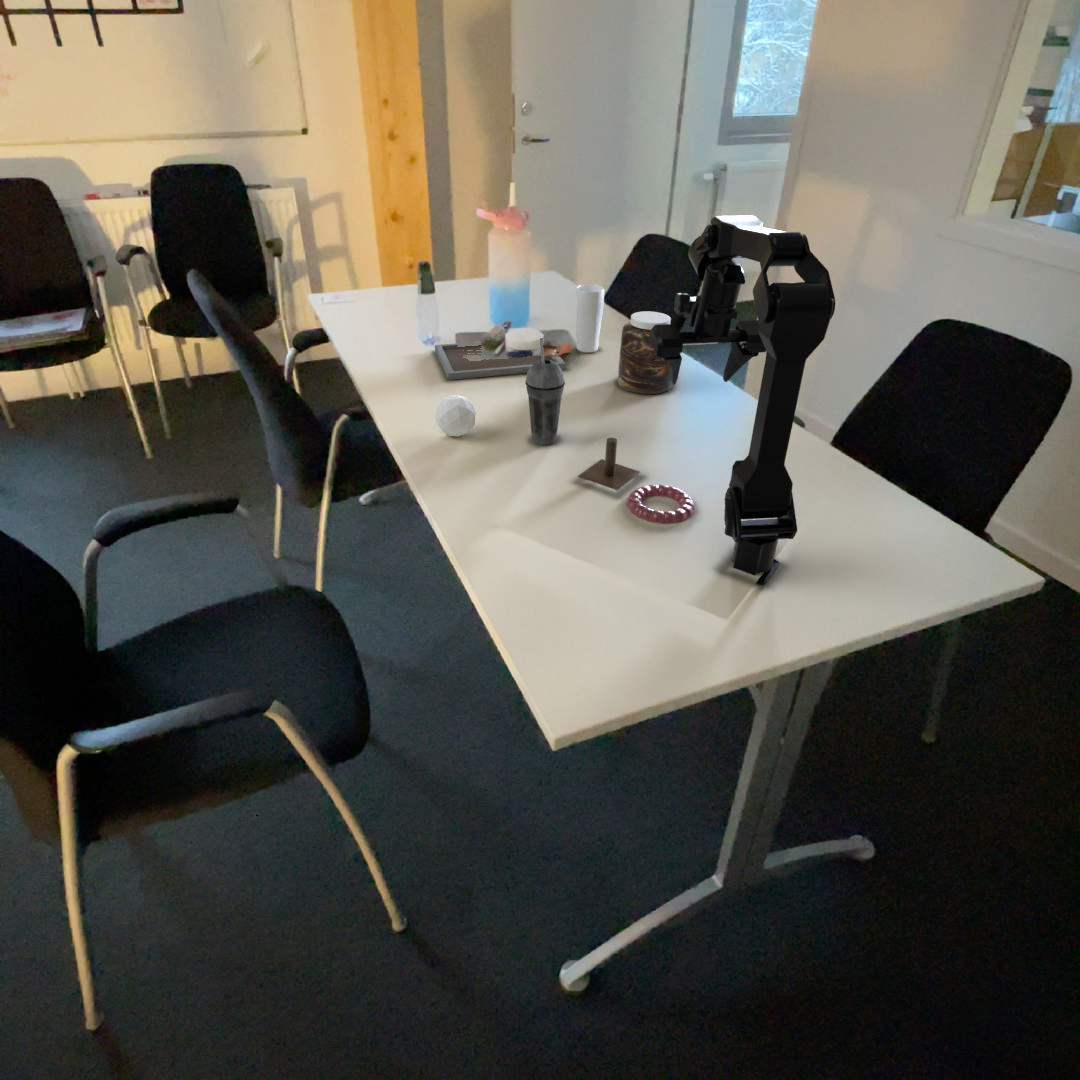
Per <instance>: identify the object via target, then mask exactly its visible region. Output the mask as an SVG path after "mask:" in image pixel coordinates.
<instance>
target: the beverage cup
mask: <svg viewBox="0 0 1080 1080" xmlns="http://www.w3.org/2000/svg"><path fill="white" fill-rule="evenodd" d="M540 346H541V360H540V361H538V362H536V363H534V364H533V365H532V366H531V367H530V369H529V371H528V373H526V377H525V378H526V379H525V382H524V383H525V385H526V388H525V389H526V393H527V396H528V409H529V420H530V421H529V422H530V433H531V439H532V440H531V441H532V442H533V443H534V444H536V445H540V446H550V445H552V444H554V443H555V442H556V440H557V435H558V428H559V420H560V412H561V403H562V395H563V393H564V388H565V385H566V381H565V376H564V375H565V374H564V371H563V370H561V368H560V367H559V366H558V365H557V364H556V363H555V362H553V361H551V360H544V348H543V338H540Z"/></svg>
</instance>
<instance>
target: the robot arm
mask: <svg viewBox="0 0 1080 1080" xmlns="http://www.w3.org/2000/svg"><path fill="white" fill-rule="evenodd" d="M763 225H764V222H763V221H762V220H760V219H759V218H758V217H757V216H755V215H721V216H720V215H716V216H713V217H712V218H711V219H710V224H707V225H706V227H704V229H703V231H702V232H701V235H699V236H698V237H696V238H695V239H694V240H693V242H692V243H691V245H690V246H689V248H688V254H687V255H688V259H689V260H690V263H691V265H692V267H693V269H694V271H695V273H696V275H697V277H698V279H699V280H700V281H702V284H701V290H700V295H699V294H698V295H696V296H691V295H690V294H689V293H687V292H677V293H676V294H675V300H674V303H673V304H674V307H673V309H674V313H675V314H677V315H683V317H684V318H687V319H688V320H687V324H688V326H689V328H692V331H684V332H683V331H682V332H681V331H679V328H678V326H677V325H676V323H670V324H662V325H654V326H653V327H652V329H651V330H650V335H649V340H650V342H651V344H652V347H653V349H654V351H655V353H656V356H658V357H661V358H663V360H665V361H668V365H669V371H670V376H671V382H672V384H671V385H673V386H675V385H676V384H677V381H678V379H679V373H680V369H681V366H682V361H683V356H682V355H681V354H682V352H683V348H684V346H699V345H700V346H701V345H702V346H703V345H718V344H724V343H725V344H727V343H730V349H729V350H730V351H729V354H728V357H727V360H726V363H725V367H724V370H723V376H722V379H723V382H724V383H727V382H729V381H730V379H732V378H733V376H734V375H735V374H736V373H737V372H738V371H739V370H740V369H741V368H742V367H743V366H745V365H746V364H747V363H748V362H749V361H751V359H752V358H754V357H758V356H759V353H766V354H765V361H764V364H763V365H764V366H763V371H762V377H761V382H760V383H761V384H760V389H759V395H758V400H757V406H756V411H755V416H754V422H753V426H752V428H753V429H752V433H751V438H750V439H751V440H750V443H749V444H750V445H749V450H748V455H747V456H746V457H745V458H744V459H740V460H739V459H738V460H735V461H734V463H733V465H732V466H731V467H732V468H731V476H730V481H729V483H728V488H727V489H726V492H725V494H724V518H723V519H724V520H723V521H724V526H725V527H724V534H725V536H728V537H730V538H732V540H733V541H734V545H733V551H732V556H731V561H732V563H733V566H732V568H733V569H736V570H738V571H741V572H743V573H746V574H749V575H752V576H756V575H757V574H761V575H760V576H759V578H758V579H757V580H756V581H755V584H758V585H761V586H763V585H766V584H767V583H768V581H769V580H770V579H771V577H772V576H773V575H774V574H775V572H776V571H777V569H778V568H779V567H780V564H781V561H780V560H778V559H775V556H776V551H777V546H778V542H779V540H794V538H795V536H796V535H797V533H798V524H797V523H798V522H797V517H796V510H795V509H796V508H795V503H794V496H793V485H794V483H793V480H792V478H791V476H790V474H789V471H788V470H787V467H786V465H785V464H786V458H787V453H788V449H789V444H790V439H791V434H792V431H793V430H792V429H793V426H794V425H793V424H794V421H795V420H794V419H795V416H796V410H797V405H798V400H799V396H800V391H801V387H802V386H801V385H802V382H803V377H804V371H805V367H806V362H807V359H808V358H809V357H810V356H811V355H812V354H813V352H815V350H816V349H817V348H818V347H819V346H820V344H822V342H824V340H825V338H826V335H827V331H828V328H829V325H830V322H831V320H832V318H833V317H834V315H835V310H836V297H835V292H834V288H833V285H832V280H831V276H830V272H829V270H828V268H827V267H825V266H824V264H823V263H822V262H821V261H820V260H819V258H817V257H816V255H815V254H814V253H813V252H812V251H811V247H810V244H809V243H810V242H809V239H808V237H807V235H806V234H804V233H801V232H799V231H784V230H778V229H773V228H767V227H763ZM735 259H748V260H751V261H755V262H757V263H759V267H760V272H759V275H758V277H757V279H756V281H755V283H754V286H753V288H752V297H753V301H754V307H755V312H756V317H757V319H752V320H738V321H737V322H736V323H735V326H734V329H731V327H732V322H733V320H735V319H737V318H738V311H737V309H736V306H737V302H738V298H739V294H740V290H741V286H742V285H745V284H746V275H745V270H744V269H743V267H742V265H741V264H740V263H739V262H738V261H737V260H735ZM770 267H771V268H772V267H793V268H794V271H795V273H796V274H797V275H798V276H799V277H800V278H801V279H802V281H797V282H796V281H795V282H791V281H790V282H786V281H785V282H772V283H771V284H770V282H769V277H768V273H767V272H768V271H769V269H770Z"/></svg>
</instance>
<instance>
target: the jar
mask: <svg viewBox="0 0 1080 1080" xmlns="http://www.w3.org/2000/svg"><path fill="white" fill-rule="evenodd" d="M671 321H672V318H671V317H670V316H669V315H668V314H665V313H662V312H659V311H648V310H647V311H646V310H644V311H637V312H634V313H632V314H631V315H630V321H627V322H626V323H624V324H623V326H622V328H621V336H620V346H619V358H618V359H619V360H618V371H617V372H618V373H617V374H618V375H617V384H618V386H619V387H621V388H622V389H624V390H626V391H628V392H631V393H635V394H641V395H657V394H662V393H665V392H668V391H670V390H671V388H672V385H673V384H672V382H671V376H670V371H669V365H668V361H665V360H663V358H661V357H658V356H656V353H655V351H654V349H653V347H652V344H651V342H650V340H649V335H650V330H651V329H652V327H653V326H654V325H662V324H671Z"/></svg>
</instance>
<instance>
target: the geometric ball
mask: <svg viewBox="0 0 1080 1080" xmlns="http://www.w3.org/2000/svg"><path fill="white" fill-rule="evenodd" d="M476 416H477V412H476V409H475V407H474V404H473V403H472V402H471V401H470V400H469V399H468V398H467V397H466V396H464V395H458V394H450V395H448V396H446V397H444V398H441V400H440V402H439V403H438V404H437V405H436V408H435V414H434V420H435V422H436V425H437V427H438V428H439V429H440V430H441V432H443V433H444V434H445V435H446V436H451V437H457V438H460V437H462V436H463V435H466V434H468V433H470V432H471V430H472V429H473V428H474V427H475V425H476Z"/></svg>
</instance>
